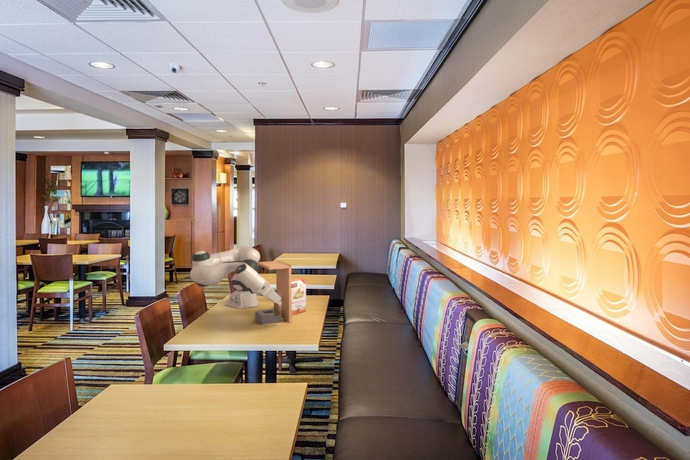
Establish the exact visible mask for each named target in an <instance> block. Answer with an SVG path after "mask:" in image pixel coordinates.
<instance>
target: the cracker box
mask: <svg viewBox="0 0 690 460" xmlns="http://www.w3.org/2000/svg"><path fill="white" fill-rule="evenodd" d="M291 296H292V316H294V315H299V314H301V312H302V313H304V311H305V312H306V311H307V310H306V308H307V279H306V278H303V277H299V278H293V279H291Z"/></svg>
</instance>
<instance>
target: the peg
mask: <svg viewBox="0 0 690 460" xmlns="http://www.w3.org/2000/svg"><path fill="white" fill-rule="evenodd" d="M277 294H278V295H279V297H280V298H281V293H277ZM280 302H281V300H280ZM273 309H274V316H281V305H278V304H276V303H274V302H273Z"/></svg>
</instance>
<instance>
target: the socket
mask: <svg viewBox="0 0 690 460" xmlns="http://www.w3.org/2000/svg"><path fill="white" fill-rule="evenodd" d="M254 313H255V315H254V319H255V321H256V322H258V323H259V324H261V325H268V324H269V325H270V324H275V323H276V324H277V323H281V322H283V318H282V313H281V316H274V308H270V309H269V308H267V309H260V310H255V311H254Z"/></svg>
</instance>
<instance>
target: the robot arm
mask: <svg viewBox="0 0 690 460" xmlns="http://www.w3.org/2000/svg"><path fill="white" fill-rule="evenodd" d="M260 260H261V254H260V252H259V251H258V250H257V249H256V248H254V247H251V246H250V247H249V246H244V245H243V246H238V247H236V248H233V249H230V250H226V251H221V252H216V253H211V254H210V253H209V252H208V251H207V250H198V251H196V252H195V251H194V253H192V255H191V261H192V266H191V270H190V272H189V278H190V279H191V280H192V281H193V282H195V283H196V285H197V287H200V288H206V287H209V286H215V285H218V284H219V283H220V282H221V281H223V280H224V279H225V278H226V277H227V276H228V275H229V274H230V273H233V272H234V275H233V276H232V278H231V280H230V284H231V286H232V288H233V289H235V291H233V292H232V293H231V294H230V295H229V297H228V301H227V302H225V303H224V305H225V306H228V307H232V308H236V309H244V308H247V309H248V308H254V307H258V306H259V300H258V297H257V296H259V297H260V296H261V297H265V298H266V299H268V300H270V301H271V302H273V304H274V303H276V304H278V305H281V304H282V303H281V302H280V300H281V298H280V297H279V295H278V294H277V293H276V291H275V290H274V289H273V287H272V286H271V284H270V283H269V281H268V280H266V279H265V277H263V276H261V275H260V274H259V272H260V266H259V265H258V263H257V262H260Z"/></svg>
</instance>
